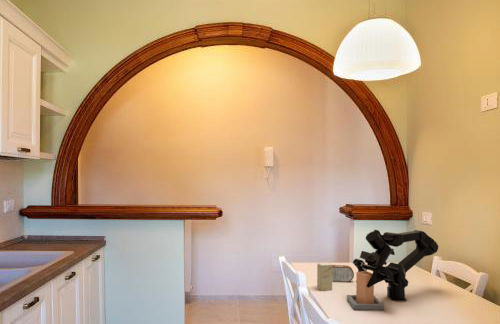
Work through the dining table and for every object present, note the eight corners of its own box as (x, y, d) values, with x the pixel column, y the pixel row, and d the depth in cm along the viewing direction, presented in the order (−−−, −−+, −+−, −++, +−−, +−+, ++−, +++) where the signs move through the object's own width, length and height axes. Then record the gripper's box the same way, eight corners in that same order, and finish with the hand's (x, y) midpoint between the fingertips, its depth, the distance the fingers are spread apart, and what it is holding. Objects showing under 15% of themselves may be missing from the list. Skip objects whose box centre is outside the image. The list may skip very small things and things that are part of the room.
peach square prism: (364, 300, 153) (365, 270, 153) (373, 304, 148) (373, 273, 149) (356, 302, 151) (356, 272, 151) (364, 306, 146) (365, 275, 147)
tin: (353, 281, 185) (353, 265, 185) (354, 283, 181) (354, 266, 182) (324, 280, 186) (324, 264, 186) (325, 282, 183) (324, 265, 183)
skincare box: (321, 291, 168) (320, 265, 168) (316, 288, 172) (316, 263, 173) (332, 290, 170) (332, 264, 170) (328, 287, 174) (328, 262, 174)
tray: (374, 300, 156) (374, 295, 156) (383, 310, 144) (383, 305, 144) (346, 300, 156) (346, 294, 156) (354, 310, 144) (354, 304, 144)
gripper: (355, 240, 161) (336, 267, 155) (387, 248, 144) (368, 278, 139) (368, 256, 164) (350, 283, 159) (401, 265, 147) (383, 295, 142)
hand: (362, 284), depth 149 cm, fingers open, 6 cm apart
